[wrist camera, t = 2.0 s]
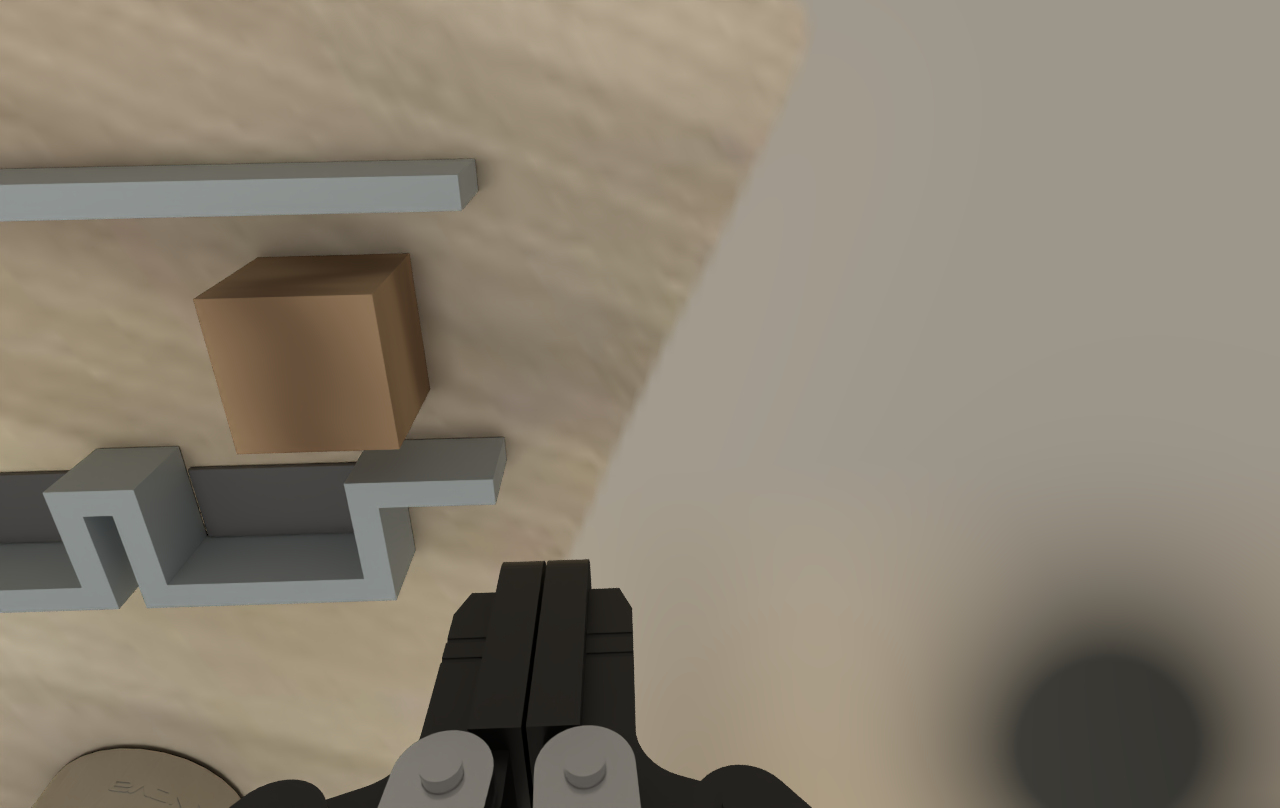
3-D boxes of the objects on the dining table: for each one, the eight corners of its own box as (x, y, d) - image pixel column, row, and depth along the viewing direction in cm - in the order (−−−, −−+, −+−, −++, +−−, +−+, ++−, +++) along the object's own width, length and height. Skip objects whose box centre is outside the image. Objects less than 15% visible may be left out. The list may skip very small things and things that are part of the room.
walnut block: (409, 252, 26) (371, 294, 22) (430, 388, 28) (399, 449, 24) (259, 256, 26) (192, 299, 22) (291, 392, 28) (236, 454, 24)
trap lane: (474, 158, 25) (457, 174, 22) (515, 547, 31) (506, 596, 28) (-268, 174, 24) (-381, 193, 21) (-68, 565, 31) (-134, 617, 28)
